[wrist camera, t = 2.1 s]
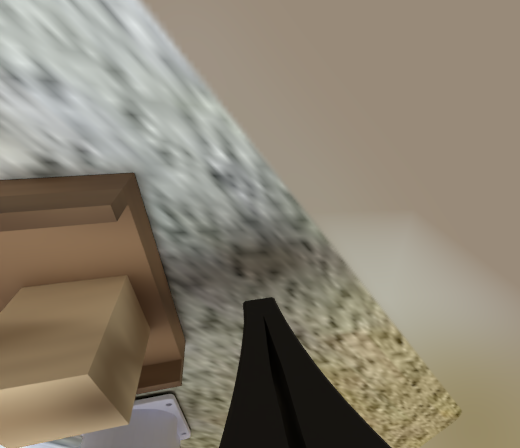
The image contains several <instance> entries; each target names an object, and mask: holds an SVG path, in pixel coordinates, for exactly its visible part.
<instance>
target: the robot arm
mask: <svg viewBox="0 0 520 448" xmlns="http://www.w3.org/2000/svg"><path fill="white" fill-rule="evenodd" d="M243 310H244V330H243V339H242V348H241V355H240V361H239V366H238V372H237V377H236V382H235V387H234V391H233V396H232V400H231V404H230V408H229V412H228V416H227V420H226V424H225V428H224V432H223V435H222V439H221V442H220V446H219V448H391V447H390V446H389V445H388V444H387V443H386V442H385V441H384V440H383V439H382V438H381V437H380V436H379V435H378V434H377V433H376V432H375V431H374V430H373V429H372V428H371V427H370V426H369V425H368V424H367V423H366V422H365V420H364V419H363V418H362V417H361V416H360V415H359V414H358V413H357V412H356V411H355V410H354V409H353V408H352V407H351V406H350V405H349V404H348V402H347V401H346V400H345V399H344V398H343V397H342V396H341V394H340V393H339V392H338V391H337V390H336V389H335V388H334V386H333V385H332V384H331V383H330V382H329V380H328V379H327V378H326V377H325V376H324V374H323V373H322V372H321V370H320V369H319V368H318V367H317V365H316V364H315V363H314V361H313V360H312V359H311V357H310V356H309V355H308V353H307V352H306V350H305V349H304V348H303V346H302V345H301V343H300V342H299V340H298V339H297V337H296V336H295V334H294V333H293V331H292V330H291V328H290V326H289V325H288V323H287V322H286V320H285V318H284V316H283V315H282V313H281V311H280V309H279V307H278V305H277V303H276V301H275V299H274V298H272V297H271V298H264V299H257V300H250V301H245V302H244V303H243ZM81 436H82V437H83V439H82V442H81V445H80V448H180V440H183V439H187V438H189V437H190V436H191V431H190V429H189V427H188V424H187V422H186V420H185V418H184V416H183V413H182V411H181V409H180V407H179V405H178V402H177V400H176V398H175V396H174V395H173V394H166V395H161V396H156V397H151V398H145V399H140V400H135V401H134V405H133V409H132V414H131V418H130V423H129V424H128V425H124V426H119V427H114V428H109V429H105V430H100V431H95V432H90V433H86V434H81Z"/></svg>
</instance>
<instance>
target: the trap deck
mask: <svg viewBox="0 0 520 448" xmlns="http://www.w3.org/2000/svg"><path fill="white" fill-rule="evenodd" d="M125 275H127V276H128V278H129V281H130V283H131V285H132V288H133V290H134V292H135V295H136V297H137V299H138V302H139V304H140V306H141V308H142V311H143V313H144V315H145V318H146V320H147V322H148V325H149V327H150V329H151V330H150V334H149V339H148V343H147V347H146V352H145V356H144V361H143V365H142V370H141V374H140V378H139V383H138V387H137V392H136V394H141V393H146V392H151V391H156V390H161V389H167V388H172V387H177V386H182V375H183V364H184V352H185V338H184V335H183V332H182V329H181V325H180V322H179V319H178V315H177V312H176V309H175V306H174V302H173V299H172V296H171V292H170V289H169V286H168V283H167V279H166V276H165V273H164V269H163V266H162V263H161V260H160V256H159V253H158V250H157V246H156V243H155V240H154V237H153V233H152V230H151V227H150V223H149V220H148V217H147V214H146V210H145V207H144V204H143V200H142V197H141V194H140V191H139V187H138V184H137V181H136V177H135V174H134V173H123V174H105V175H87V176H70V177H52V178H34V179H17V180H0V312H1V311H2V310H3V309H4V308H5V307H6V305H7V304H8V303H9V302H10V301H11V300H12V298H13V297H14V296H15V295H16V294H17V293H18V292H19V290H20V289H21V288H24V287H33V286H41V285H50V284H58V283H66V282H75V281H83V280H92V279H100V278H108V277H117V276H125Z"/></svg>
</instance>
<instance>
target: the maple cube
mask: <svg viewBox="0 0 520 448" xmlns="http://www.w3.org/2000/svg"><path fill="white" fill-rule="evenodd" d="M150 330H151V329H150V327H149V325H148V322H147V320H146V318H145V315H144V313H143V311H142V308H141V306H140V304H139V302H138V299H137V297H136V295H135V292H134V290H133V288H132V285H131V283H130V281H129V278H128V276H127V275H125V276H117V277H108V278H100V279H92V280H83V281H75V282H66V283H58V284H50V285H41V286H33V287H24V288H21V289H20V290H19V292H18V293H17V294H16V295H15V296H14V297H13V298H12V300H11V301H10V302H9V303H8V304H7V305H6V307H5V308H4V309H3V310H2V311H1V312H0V445H2V446H4V447H6V448H19V447H24V446H29V445H34V444H38V443H43V442H48V441H52V440H57V439H62V438H67V437H71V436H76V435H81V434H86V433H90V432H95V431H100V430H105V429H109V428H114V427H119V426H124V425H128V424H129V423H130V418H131V414H132V409H133V405H134V401H135V396H136V392H137V387H138V383H139V378H140V374H141V370H142V365H143V361H144V356H145V352H146V347H147V343H148V339H149V334H150Z"/></svg>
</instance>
